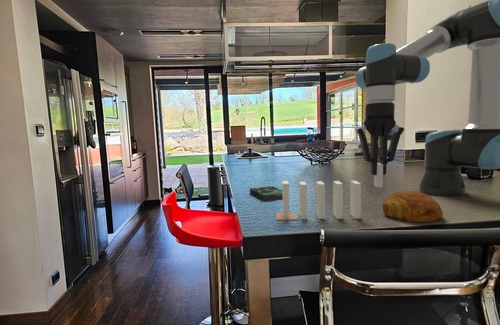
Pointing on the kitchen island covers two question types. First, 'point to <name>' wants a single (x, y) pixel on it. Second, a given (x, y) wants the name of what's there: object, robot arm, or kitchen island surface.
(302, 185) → the domino
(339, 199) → the domino
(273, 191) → the disk drive
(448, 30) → the robot arm
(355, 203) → the domino
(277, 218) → the plate
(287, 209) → the domino
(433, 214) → the croissant
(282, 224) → the kitchen island surface
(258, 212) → the kitchen island surface
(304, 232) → the kitchen island surface
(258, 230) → the kitchen island surface
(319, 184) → the domino
